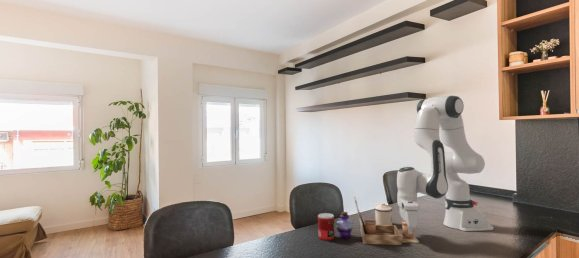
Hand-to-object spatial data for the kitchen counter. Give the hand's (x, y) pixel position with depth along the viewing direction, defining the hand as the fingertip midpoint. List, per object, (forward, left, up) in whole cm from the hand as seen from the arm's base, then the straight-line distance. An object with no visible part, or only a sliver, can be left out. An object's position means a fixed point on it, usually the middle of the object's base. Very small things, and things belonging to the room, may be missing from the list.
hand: (408, 231), depth 137 cm
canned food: (+39, +2, -4) cm, 39 cm away
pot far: (+17, -3, -3) cm, 18 cm away
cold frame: (+15, +1, -4) cm, 15 cm away
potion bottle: (+30, 0, -4) cm, 30 cm away
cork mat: (0, 0, -4) cm, 4 cm away
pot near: (0, 0, -2) cm, 2 cm away
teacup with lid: (+9, -22, -4) cm, 24 cm away
